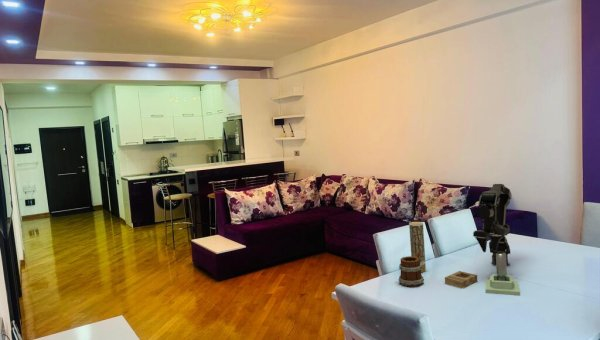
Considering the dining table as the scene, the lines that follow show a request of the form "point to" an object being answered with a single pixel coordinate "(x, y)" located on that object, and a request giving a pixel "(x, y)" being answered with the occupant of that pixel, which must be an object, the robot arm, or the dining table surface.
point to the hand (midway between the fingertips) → (489, 251)
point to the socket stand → (502, 286)
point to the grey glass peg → (501, 267)
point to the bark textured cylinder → (417, 242)
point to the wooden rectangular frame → (461, 279)
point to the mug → (411, 271)
